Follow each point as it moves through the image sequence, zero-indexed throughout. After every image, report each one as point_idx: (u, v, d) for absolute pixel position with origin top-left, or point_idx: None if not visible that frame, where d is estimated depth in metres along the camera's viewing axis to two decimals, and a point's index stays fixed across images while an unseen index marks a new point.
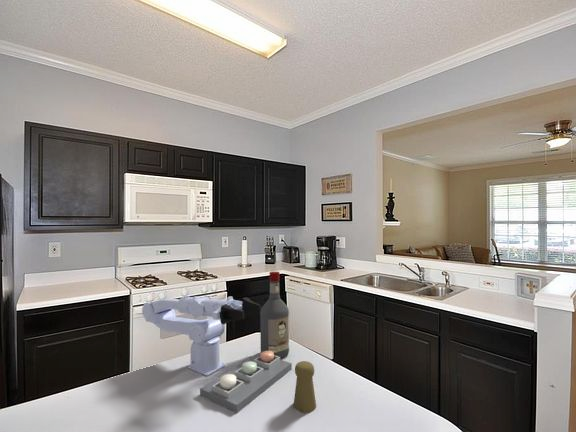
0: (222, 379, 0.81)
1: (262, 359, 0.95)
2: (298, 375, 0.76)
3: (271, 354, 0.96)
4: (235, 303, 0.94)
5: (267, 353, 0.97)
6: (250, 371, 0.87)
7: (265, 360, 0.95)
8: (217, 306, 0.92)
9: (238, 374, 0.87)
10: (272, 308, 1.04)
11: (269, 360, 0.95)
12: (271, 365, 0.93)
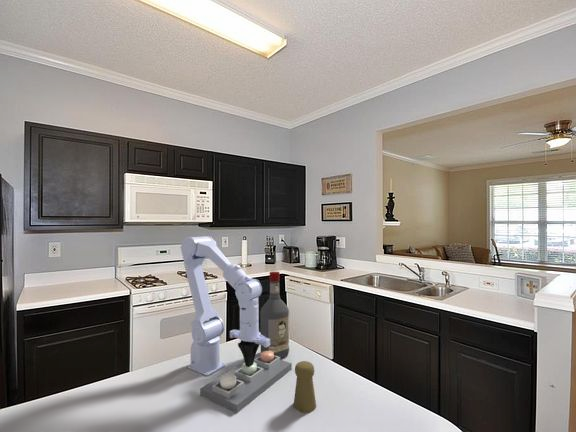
0: (222, 379, 0.81)
1: (262, 359, 0.95)
2: (298, 375, 0.76)
3: (271, 354, 0.96)
4: None
5: (267, 353, 0.97)
6: (250, 372, 0.87)
7: (265, 360, 0.95)
8: (258, 325, 0.89)
9: (238, 374, 0.87)
10: (272, 308, 1.04)
11: (269, 360, 0.95)
12: (271, 365, 0.93)
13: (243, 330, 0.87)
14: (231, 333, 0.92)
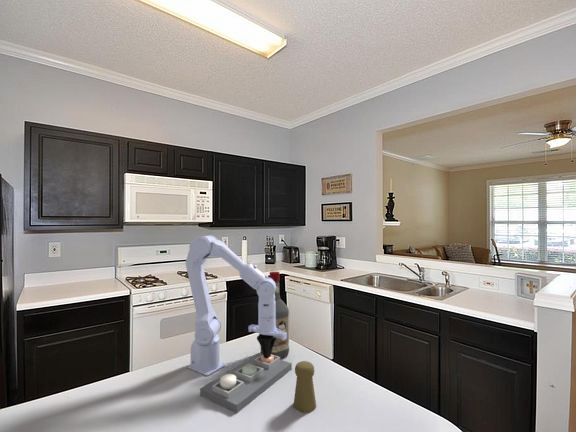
0: (222, 379, 0.81)
1: None
2: (298, 375, 0.76)
3: (271, 357, 0.96)
4: None
5: None
6: (250, 375, 0.87)
7: None
8: (275, 320, 0.97)
9: (238, 374, 0.87)
10: None
11: None
12: (271, 365, 0.93)
13: (262, 324, 0.94)
14: (250, 327, 0.99)
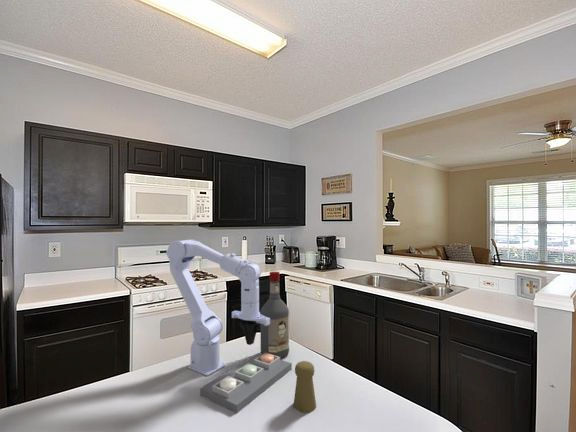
0: (222, 383, 0.81)
1: None
2: (298, 375, 0.76)
3: (271, 357, 0.96)
4: None
5: (267, 356, 0.97)
6: (250, 375, 0.87)
7: None
8: (258, 306, 0.94)
9: (238, 374, 0.87)
10: (272, 308, 1.04)
11: None
12: (271, 365, 0.93)
13: (245, 309, 0.92)
14: (233, 314, 0.97)
